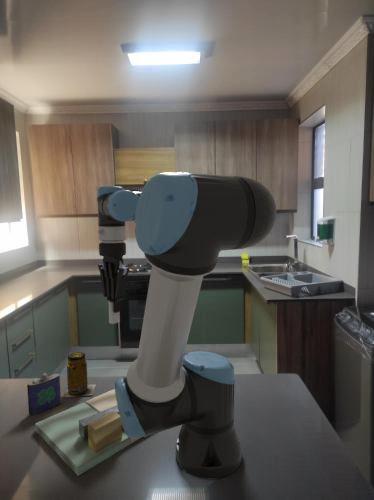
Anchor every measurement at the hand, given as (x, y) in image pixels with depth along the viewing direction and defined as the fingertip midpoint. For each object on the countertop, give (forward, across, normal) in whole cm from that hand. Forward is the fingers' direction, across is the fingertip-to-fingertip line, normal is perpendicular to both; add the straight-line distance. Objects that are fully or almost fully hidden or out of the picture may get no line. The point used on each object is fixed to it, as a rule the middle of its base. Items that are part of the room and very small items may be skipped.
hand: (114, 322), depth 96 cm
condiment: (+25, -14, -4) cm, 29 cm away
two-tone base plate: (+24, +7, -10) cm, 27 cm away
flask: (+25, -11, -16) cm, 32 cm away
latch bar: (+22, +12, -9) cm, 26 cm away
